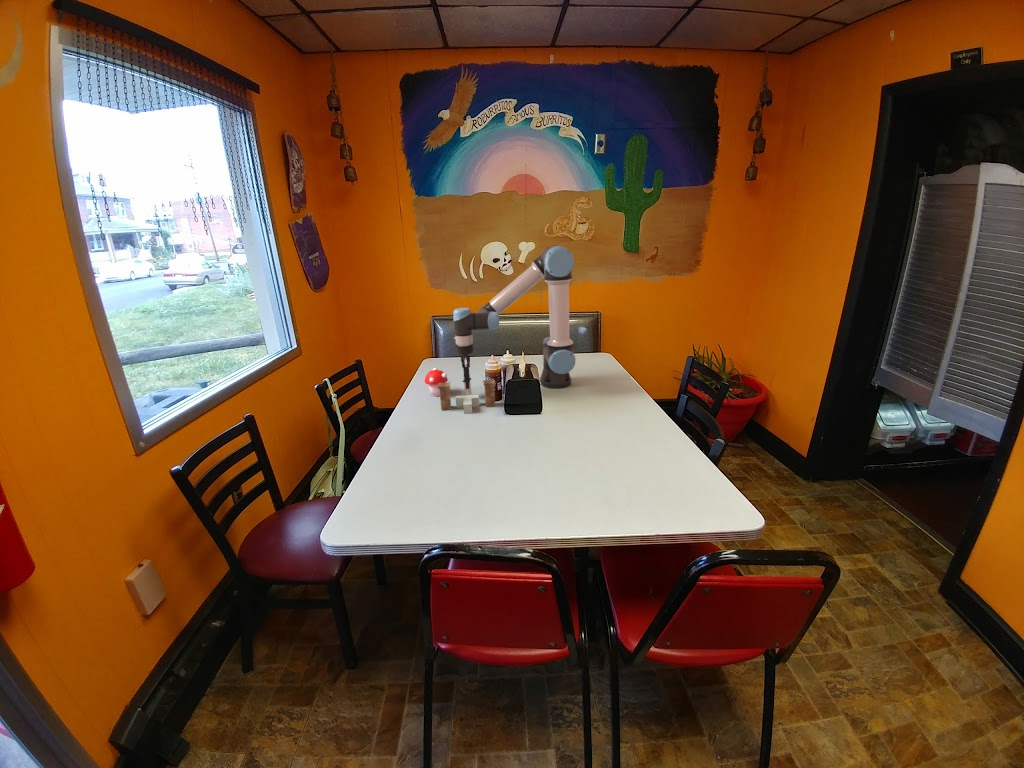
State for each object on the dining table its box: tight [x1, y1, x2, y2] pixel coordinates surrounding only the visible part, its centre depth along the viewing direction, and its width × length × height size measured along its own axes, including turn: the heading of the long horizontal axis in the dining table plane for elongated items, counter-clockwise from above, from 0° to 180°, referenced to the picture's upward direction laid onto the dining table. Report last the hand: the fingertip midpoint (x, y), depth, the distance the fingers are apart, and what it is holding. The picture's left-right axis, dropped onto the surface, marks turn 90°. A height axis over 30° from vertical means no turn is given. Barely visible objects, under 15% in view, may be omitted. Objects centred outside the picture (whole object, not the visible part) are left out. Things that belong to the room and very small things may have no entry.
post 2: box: [482, 379, 496, 408], centre depth 192 cm, size 5×5×11 cm
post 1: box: [438, 381, 452, 411], centre depth 190 cm, size 5×5×11 cm
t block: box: [455, 394, 480, 415], centre depth 190 cm, size 10×10×4 cm
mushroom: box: [424, 367, 449, 398], centre depth 206 cm, size 11×11×12 cm
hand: (468, 394), depth 202 cm, fingers closed
